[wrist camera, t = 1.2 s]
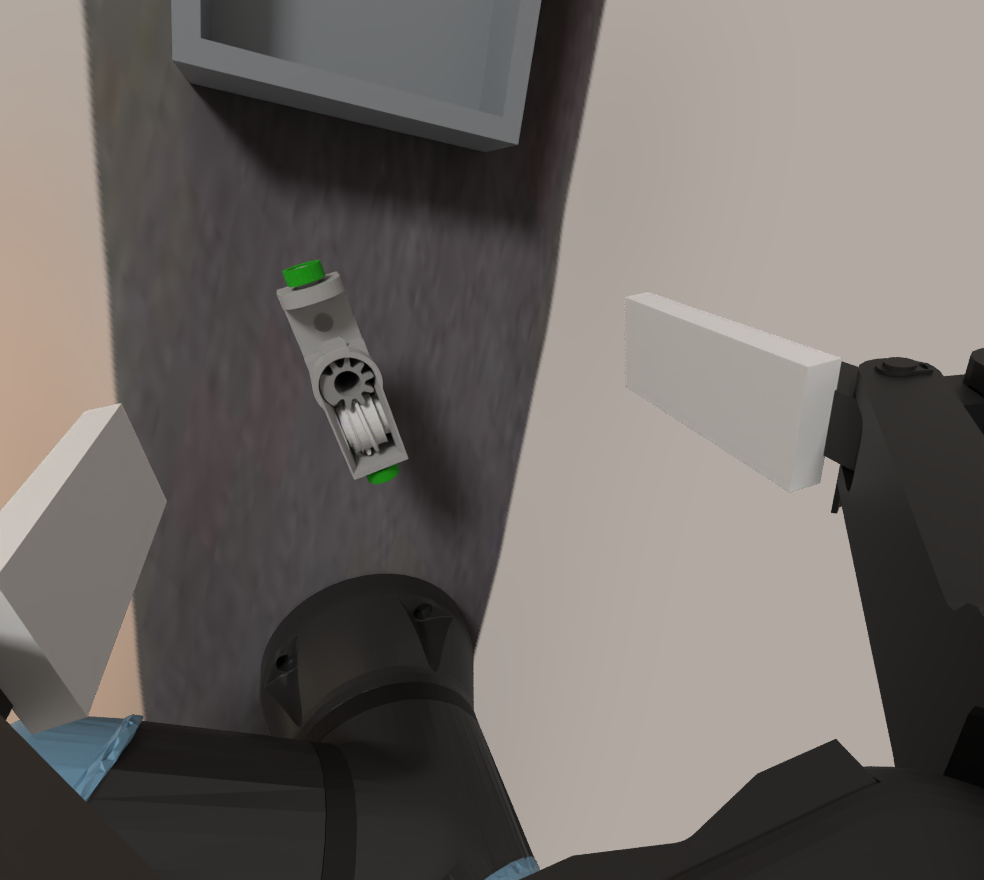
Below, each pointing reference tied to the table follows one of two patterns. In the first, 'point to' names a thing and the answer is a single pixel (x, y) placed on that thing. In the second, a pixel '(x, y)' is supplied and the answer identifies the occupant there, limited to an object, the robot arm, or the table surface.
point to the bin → (370, 60)
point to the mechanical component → (342, 371)
